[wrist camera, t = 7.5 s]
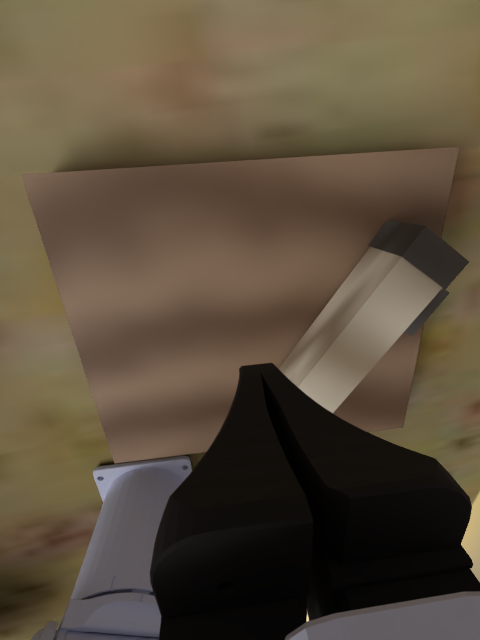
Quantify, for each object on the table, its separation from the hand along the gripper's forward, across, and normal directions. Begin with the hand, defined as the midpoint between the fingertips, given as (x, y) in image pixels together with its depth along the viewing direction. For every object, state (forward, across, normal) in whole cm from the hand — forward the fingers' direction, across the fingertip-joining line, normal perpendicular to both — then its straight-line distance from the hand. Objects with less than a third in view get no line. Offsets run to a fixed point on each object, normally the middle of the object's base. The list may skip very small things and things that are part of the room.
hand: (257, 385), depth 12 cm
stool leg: (+7, -5, +2) cm, 9 cm away
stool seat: (+9, -1, +1) cm, 9 cm away
